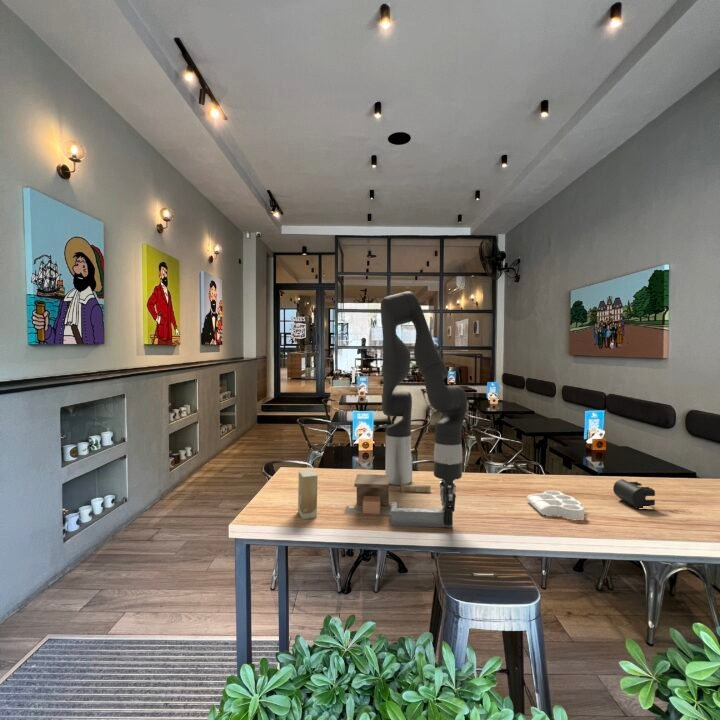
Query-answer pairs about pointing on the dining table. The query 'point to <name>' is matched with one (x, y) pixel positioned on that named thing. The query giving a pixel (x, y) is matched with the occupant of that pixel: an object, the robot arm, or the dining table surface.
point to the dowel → (415, 488)
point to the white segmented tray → (557, 504)
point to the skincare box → (307, 494)
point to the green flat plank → (360, 511)
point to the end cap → (633, 493)
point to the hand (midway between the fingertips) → (447, 522)
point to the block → (371, 504)
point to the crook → (417, 517)
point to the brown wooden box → (372, 487)
